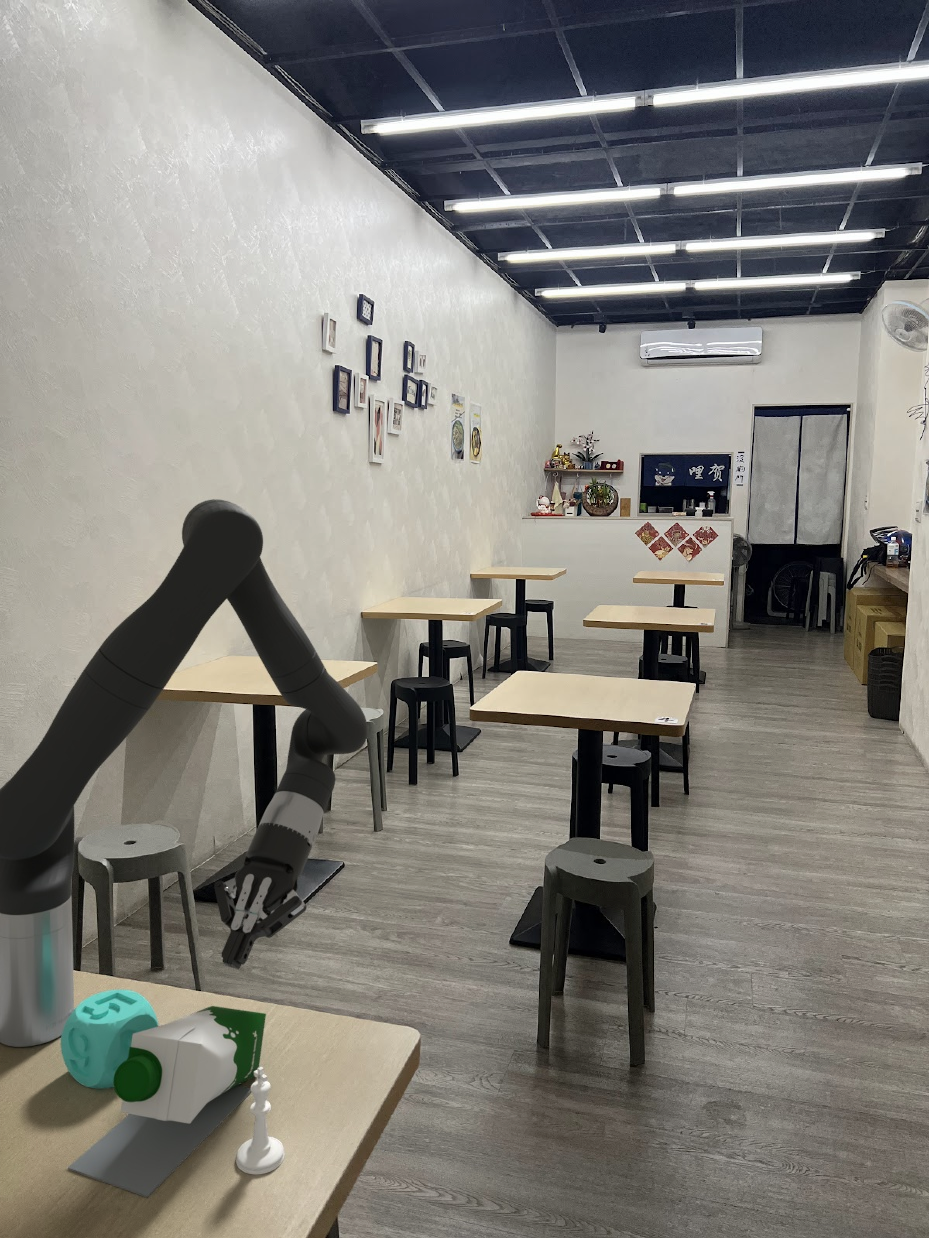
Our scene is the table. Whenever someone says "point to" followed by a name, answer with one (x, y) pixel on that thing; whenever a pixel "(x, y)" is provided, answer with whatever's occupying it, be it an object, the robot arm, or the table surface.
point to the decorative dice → (103, 1035)
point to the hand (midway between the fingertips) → (230, 965)
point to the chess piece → (260, 1134)
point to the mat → (152, 1146)
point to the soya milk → (189, 1063)
